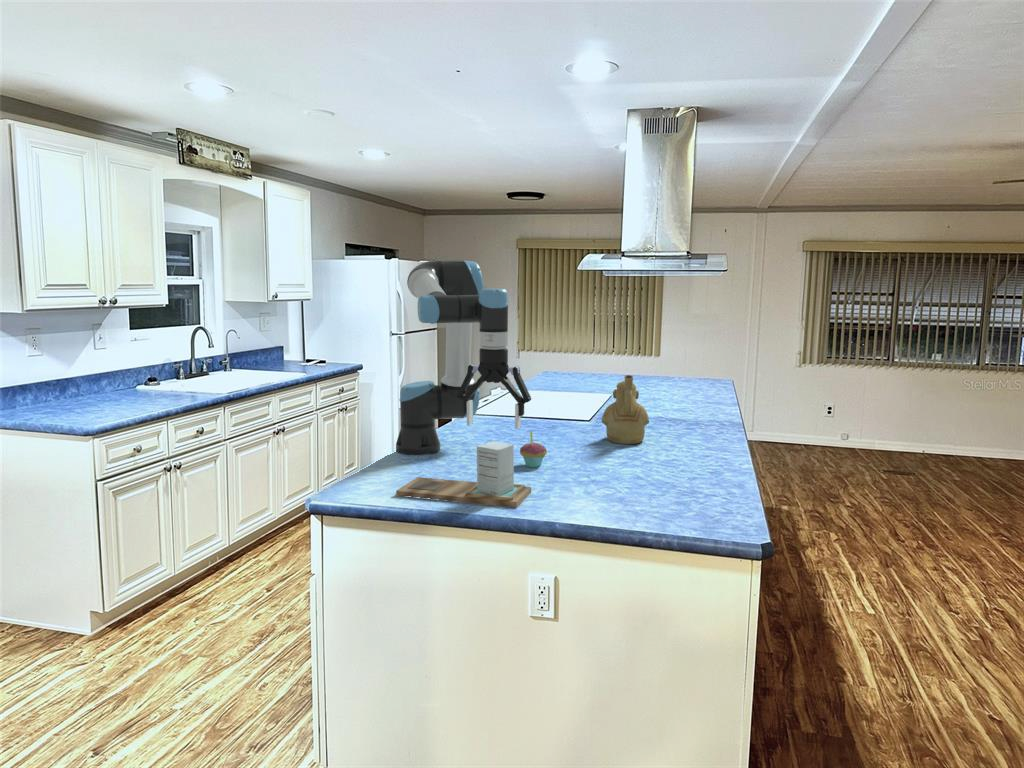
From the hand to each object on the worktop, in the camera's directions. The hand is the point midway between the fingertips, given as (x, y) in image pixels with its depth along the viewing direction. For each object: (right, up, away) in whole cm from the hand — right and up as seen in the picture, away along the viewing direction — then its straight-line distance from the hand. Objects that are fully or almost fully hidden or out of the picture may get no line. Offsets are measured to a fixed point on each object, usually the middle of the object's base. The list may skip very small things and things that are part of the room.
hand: (493, 426), depth 191 cm
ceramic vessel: (+46, -10, +67) cm, 82 cm away
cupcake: (+12, -15, +33) cm, 38 cm away
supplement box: (+1, -18, 0) cm, 18 cm away
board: (-8, -19, +3) cm, 21 cm away
